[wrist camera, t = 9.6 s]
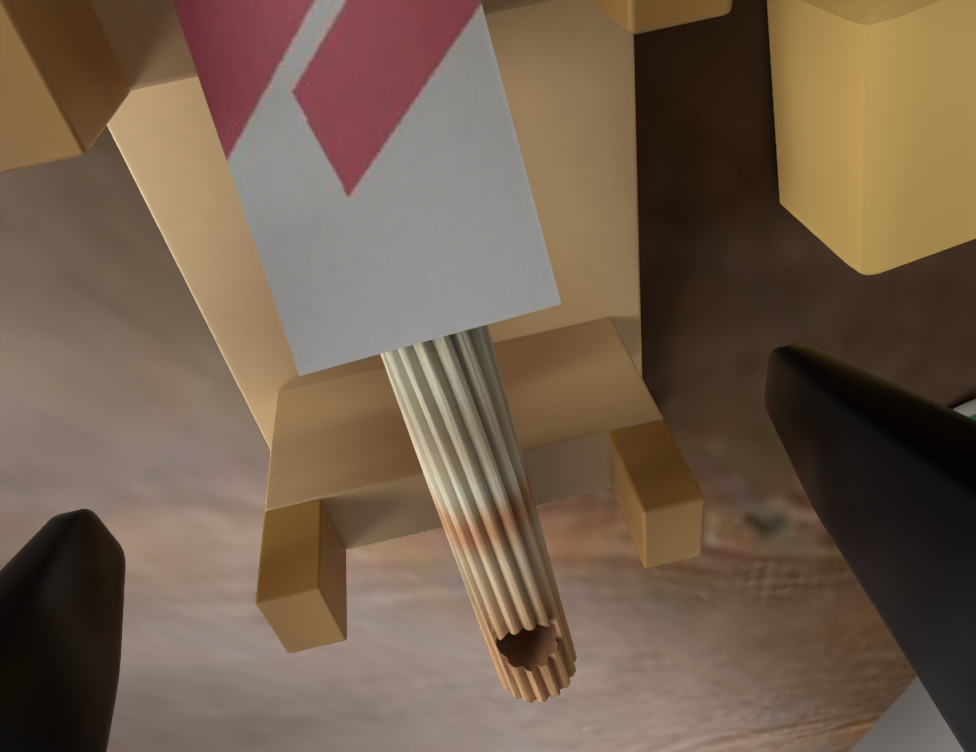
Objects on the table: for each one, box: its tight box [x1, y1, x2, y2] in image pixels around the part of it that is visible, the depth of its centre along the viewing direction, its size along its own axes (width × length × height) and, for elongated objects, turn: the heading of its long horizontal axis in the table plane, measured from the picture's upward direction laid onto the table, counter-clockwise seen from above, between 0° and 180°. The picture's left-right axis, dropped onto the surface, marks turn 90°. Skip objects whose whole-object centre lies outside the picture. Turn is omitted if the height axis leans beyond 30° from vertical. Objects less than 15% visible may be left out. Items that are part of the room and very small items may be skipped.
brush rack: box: [0, 0, 732, 653], centre depth 13 cm, size 10×19×7 cm, turn 9°
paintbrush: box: [172, 0, 577, 703], centre depth 11 cm, size 4×3×20 cm
